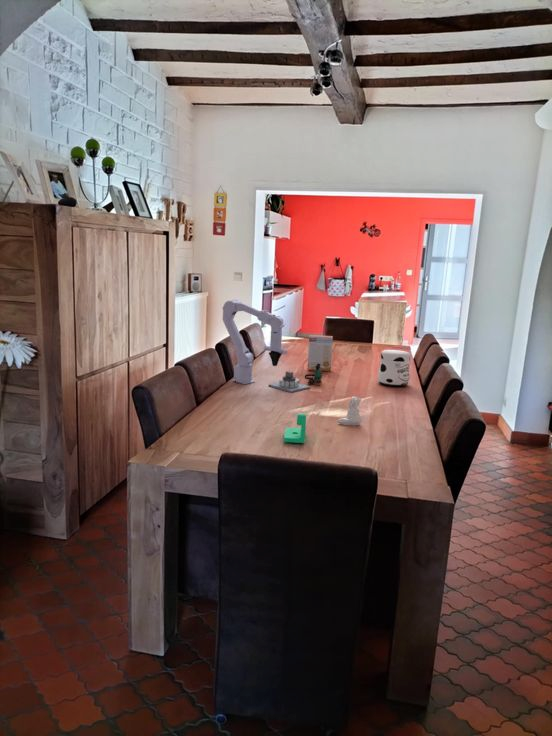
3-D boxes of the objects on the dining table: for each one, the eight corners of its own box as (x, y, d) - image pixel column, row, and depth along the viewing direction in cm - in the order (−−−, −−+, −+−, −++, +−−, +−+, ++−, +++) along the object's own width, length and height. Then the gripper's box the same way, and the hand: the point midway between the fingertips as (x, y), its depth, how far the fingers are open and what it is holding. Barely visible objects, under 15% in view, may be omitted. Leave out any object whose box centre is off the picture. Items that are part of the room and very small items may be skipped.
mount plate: (268, 386, 280) (268, 384, 280) (286, 382, 290) (287, 380, 290) (291, 392, 270) (291, 390, 269) (309, 388, 280) (309, 386, 279)
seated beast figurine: (348, 418, 232) (350, 392, 229) (366, 423, 226) (368, 396, 224) (336, 423, 224) (338, 396, 222) (354, 428, 219) (356, 400, 216)
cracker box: (330, 369, 326) (333, 335, 321) (330, 372, 320) (333, 337, 315) (307, 368, 327) (309, 334, 322) (307, 370, 321) (309, 335, 316)
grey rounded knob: (279, 384, 280) (280, 371, 278) (288, 382, 284) (289, 369, 283) (288, 387, 275) (289, 374, 273) (298, 385, 280) (298, 372, 278)
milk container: (409, 389, 287) (412, 356, 283) (376, 386, 290) (379, 353, 286) (408, 382, 303) (411, 350, 299) (377, 379, 306) (380, 348, 303)
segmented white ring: (275, 384, 280) (275, 378, 279) (288, 382, 287) (288, 376, 286) (289, 388, 273) (289, 382, 272) (302, 385, 280) (303, 380, 279)
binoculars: (305, 363, 294) (323, 363, 292) (306, 382, 296) (324, 382, 294) (302, 366, 285) (321, 366, 283) (303, 385, 287) (322, 385, 285)
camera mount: (285, 433, 210) (286, 408, 208) (305, 435, 209) (306, 409, 207) (283, 444, 198) (284, 417, 196) (304, 445, 198) (305, 419, 196)
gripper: (260, 338, 280) (259, 364, 283) (280, 342, 270) (279, 369, 273) (270, 337, 285) (269, 362, 288) (290, 341, 275) (289, 367, 278)
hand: (274, 365), depth 281 cm, fingers closed
